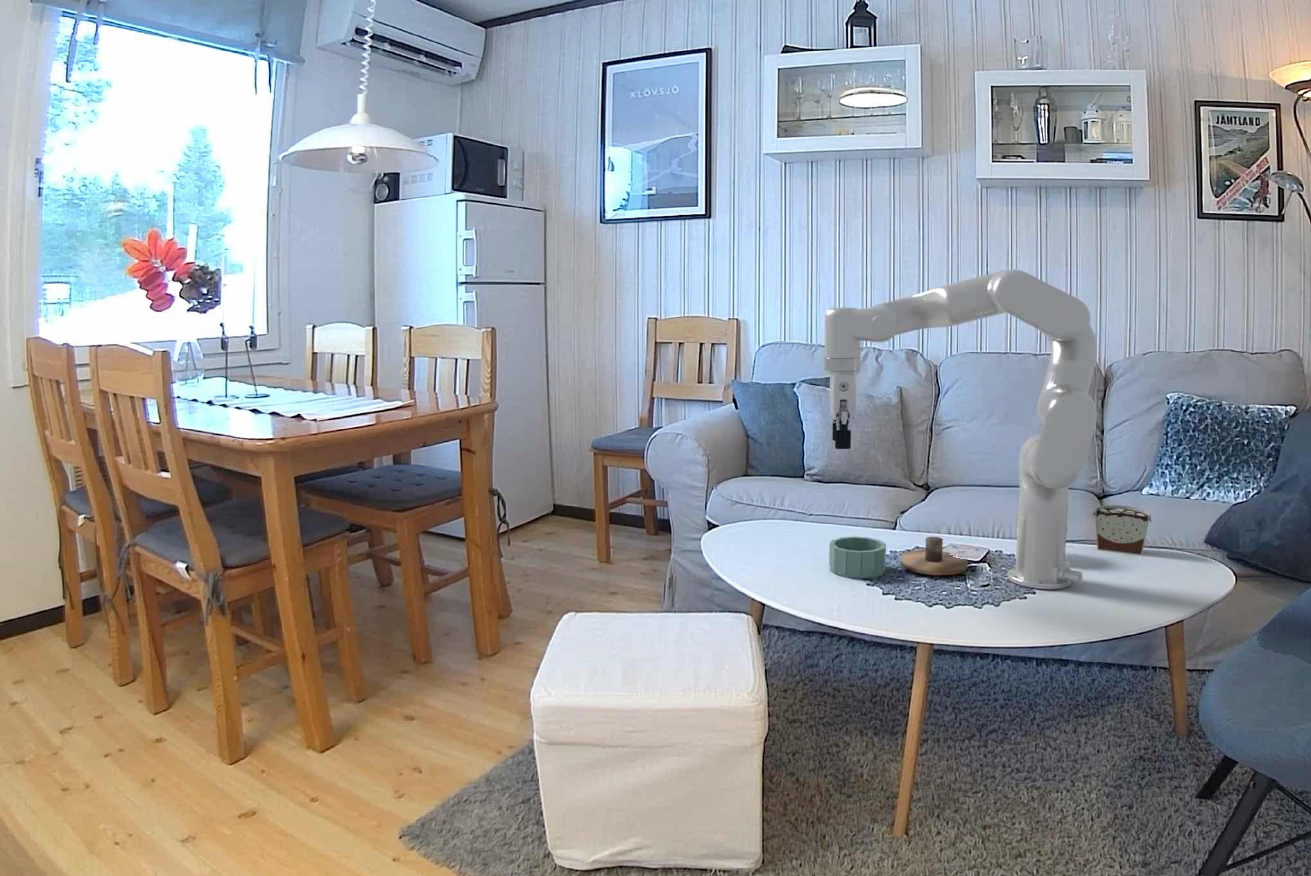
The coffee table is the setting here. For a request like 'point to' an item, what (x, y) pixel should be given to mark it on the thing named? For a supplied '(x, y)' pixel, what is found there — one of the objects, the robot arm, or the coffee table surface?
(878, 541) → the bowl
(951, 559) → the lid
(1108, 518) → the food container
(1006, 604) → the coffee table surface
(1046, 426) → the robot arm
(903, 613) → the coffee table surface
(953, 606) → the coffee table surface
